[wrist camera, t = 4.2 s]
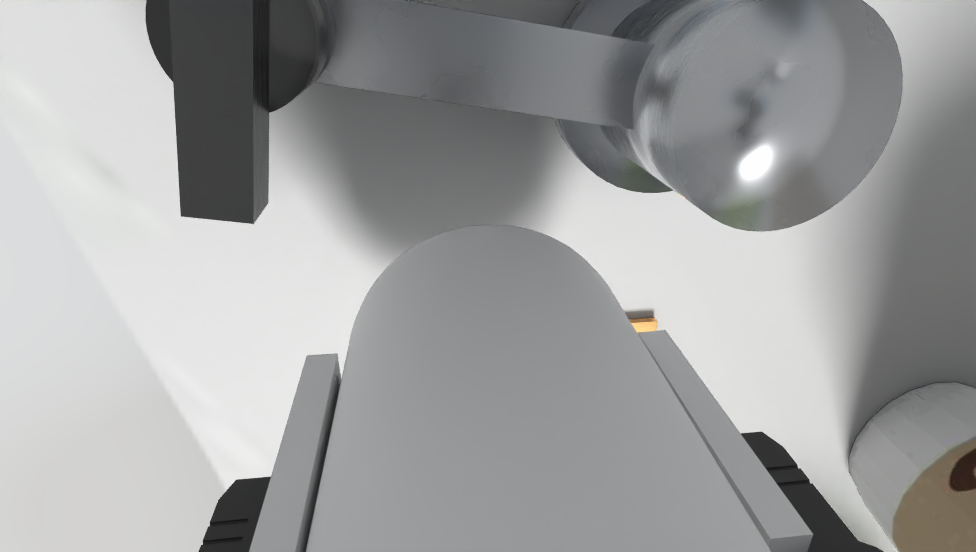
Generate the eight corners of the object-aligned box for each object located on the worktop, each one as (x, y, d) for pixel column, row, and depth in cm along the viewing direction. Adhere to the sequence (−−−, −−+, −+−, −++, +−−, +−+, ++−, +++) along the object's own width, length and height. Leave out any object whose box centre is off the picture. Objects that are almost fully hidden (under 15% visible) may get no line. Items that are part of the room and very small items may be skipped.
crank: (782, -10, 17) (1028, -18, 10) (717, 189, 19) (880, 289, 13) (240, -119, 14) (90, -228, 8) (243, 127, 17) (130, 211, 10)
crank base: (552, -43, 17) (562, -46, 16) (776, -45, 18) (800, -48, 17) (539, 409, 24) (545, 428, 23) (700, 395, 25) (713, 412, 24)
